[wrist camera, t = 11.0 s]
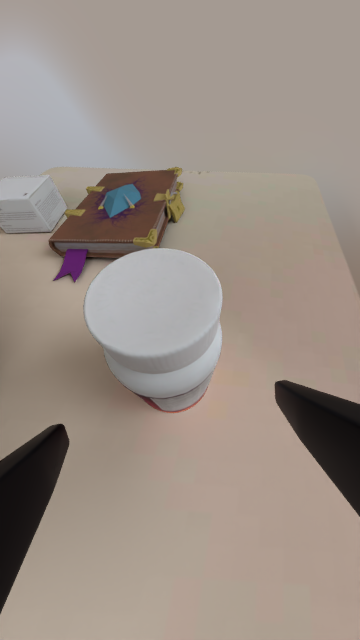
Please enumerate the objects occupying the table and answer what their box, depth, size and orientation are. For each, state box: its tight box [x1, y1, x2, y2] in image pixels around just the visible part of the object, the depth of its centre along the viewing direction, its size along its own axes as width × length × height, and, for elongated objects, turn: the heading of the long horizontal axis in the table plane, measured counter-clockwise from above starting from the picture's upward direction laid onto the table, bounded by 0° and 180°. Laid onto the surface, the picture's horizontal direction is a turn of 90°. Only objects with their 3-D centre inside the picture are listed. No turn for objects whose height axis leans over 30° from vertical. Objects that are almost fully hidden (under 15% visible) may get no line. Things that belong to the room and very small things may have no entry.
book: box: [49, 167, 185, 282], centre depth 27 cm, size 16×25×5 cm, turn 170°
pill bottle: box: [83, 248, 222, 413], centre depth 12 cm, size 6×6×11 cm
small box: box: [0, 175, 67, 233], centre depth 29 cm, size 8×8×5 cm
